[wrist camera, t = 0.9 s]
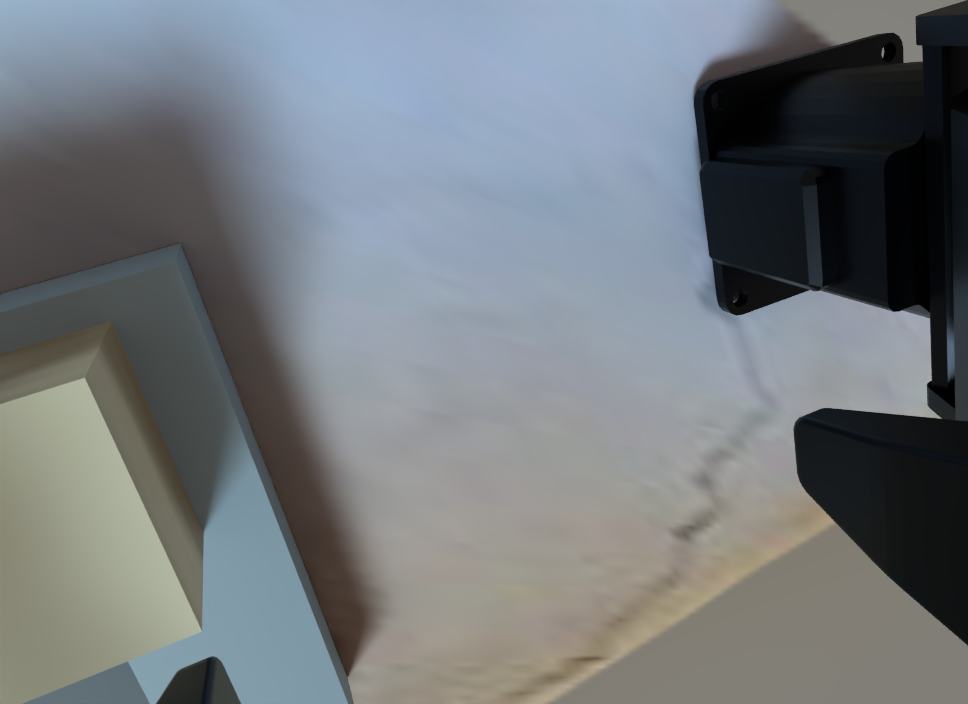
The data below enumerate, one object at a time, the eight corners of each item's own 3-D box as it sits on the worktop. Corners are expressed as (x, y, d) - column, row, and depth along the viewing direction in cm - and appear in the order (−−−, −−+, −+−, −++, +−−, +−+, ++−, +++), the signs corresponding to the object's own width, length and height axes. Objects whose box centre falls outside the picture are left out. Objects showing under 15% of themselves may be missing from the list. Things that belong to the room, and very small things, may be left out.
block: (111, 320, 15) (84, 378, 12) (203, 532, 16) (202, 631, 13) (-178, 408, 14) (-297, 496, 10) (-45, 624, 15) (-111, 757, 12)
